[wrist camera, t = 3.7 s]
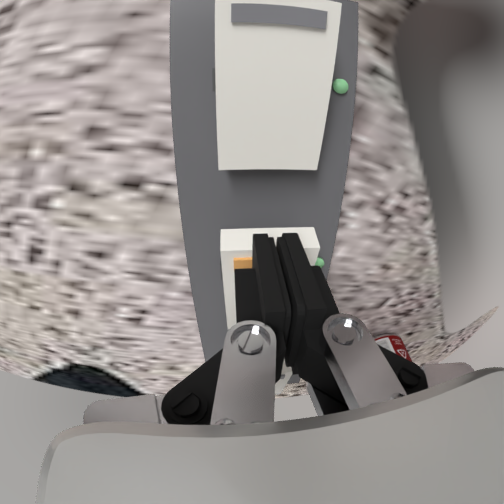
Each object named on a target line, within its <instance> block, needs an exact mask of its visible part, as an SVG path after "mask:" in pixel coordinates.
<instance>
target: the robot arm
mask: <svg viewBox="0 0 504 504" xmlns="http://www.w3.org/2000/svg"><path fill="white" fill-rule="evenodd" d="M234 276H235V302H236V323H237V324H235V325H233V326H232V327H231V328H230V329H229V330H228V331H227V334H226V336H225V341H224V347H223V348H222V349H221V350H220V351H219V352H218V353H216V354H215V355H214V356H213V357H211V358H210V359H209V360H208V361H206V362H205V363H204V364H203V365H201V366H200V367H199V368H198V369H196V370H195V371H194V372H193V373H191V374H190V375H189V376H188V377H186V378H185V379H184V380H182V381H181V382H180V383H179V384H177V385H176V386H175V387H173V388H172V389H171V390H170V391H169V392H168V393H167V394H166V395H161V396H155V395H154V394H149V395H142V396H134V397H126V398H117V399H107V400H98V401H95V402H93V403H91V404H90V405H88V407H87V409H86V410H85V412H84V417H83V425H79V426H75V427H72V428H69V429H67V430H64V431H62V432H61V433H59V434H58V435H56V436H55V437H54V439H53V440H52V441H51V443H50V444H49V446H48V449H47V451H46V453H45V456H44V459H43V463H42V466H41V470H40V475H39V481H38V487H37V495H36V504H504V368H502V367H493V368H485V369H481V370H477V371H474V369H473V368H472V367H471V366H470V365H468V364H466V363H462V362H459V363H445V364H424V365H423V366H422V367H419V366H418V365H417V364H415V363H413V362H411V361H409V360H407V359H405V358H403V357H401V356H399V355H398V354H396V353H394V352H392V351H390V350H388V349H386V348H384V347H382V346H380V345H378V344H377V343H376V342H375V340H374V338H373V337H372V335H371V334H370V332H369V330H368V329H367V327H366V326H365V324H364V323H363V322H362V321H361V320H360V319H358V318H357V317H355V316H352V315H350V314H343V313H342V314H340V313H339V311H338V308H337V306H336V303H335V301H334V298H333V296H332V293H331V291H330V288H329V286H328V284H327V281H326V279H325V276H324V274H323V272H322V269H321V268H320V266H318V265H315V266H311V265H310V263H309V260H308V258H307V255H306V253H305V250H304V248H303V245H302V243H301V240H300V238H299V235H298V233H283V234H282V237H277V242H276V245H275V241H274V238H273V237H268V234H267V233H263V234H253V244H252V268H243V269H234ZM284 359H285V364H286V367H291V369H292V374H293V375H295V374H298V375H299V377H300V378H302V379H303V380H305V381H306V387H307V390H308V392H309V395H310V397H311V400H312V402H313V405H314V407H315V410H316V412H317V415H318V416H316V417H310V418H303V419H296V420H288V421H278V422H274V401H275V384H276V383H277V382H278V381H279V380H280V378H281V373H282V367H283V362H284Z"/></svg>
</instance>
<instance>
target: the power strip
mask: <svg viewBox="0 0 504 504" xmlns="http://www.w3.org/2000/svg"><path fill="white" fill-rule="evenodd" d="M329 1H334V2H339V3H342V7H341V17H340V26H339V34H338V43H337V50H336V58H335V65H334V72H333V79H332V86H331V93H330V99H329V105H328V111H327V117H326V123H325V129H324V135H323V140H322V146H321V151H320V156H319V162H318V167H317V170H290V169H244V170H219V169H218V146H217V119H216V83H215V0H171V3H170V87H171V110H172V127H173V141H174V154H175V165H176V176H177V186H178V195H179V204H180V213H181V221H182V228H183V236H184V243H185V250H186V257H187V264H188V270H189V276H190V283H191V289H192V294H193V300H194V306H195V311H196V317H197V322H198V327H199V332H200V337H201V342H202V347H203V352H204V357H205V361H208V360H209V359H210V358H211V357H213V356H214V355H215V354H216V353H218V352H219V351H220V350H221V349H222V348H223V347H224V341H225V336H226V334H227V331H228V330H229V329H228V327H227V318H226V308H225V297H224V287H223V276H222V264H221V252H220V236H221V229H247V228H289V227H314V229H315V232H316V235H317V239H318V242H319V245H320V250H319V253H318V257H317V260H316V263H315V265H318V266H320V268H321V269H322V272H323V274H324V276H325V279H326V280H327V276H328V271H329V267H330V262H331V258H332V253H333V248H334V243H335V238H336V233H337V227H338V222H339V216H340V211H341V205H342V199H343V193H344V186H345V180H346V173H347V166H348V159H349V151H350V143H351V134H352V125H353V115H354V104H355V92H356V77H357V57H358V2H354V1H350V0H329ZM299 381H300V377H299V375H298V374H295V375H293V374H292V375H291V377H290V379H289V380H288V382H287V384H291V383H299Z"/></svg>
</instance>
